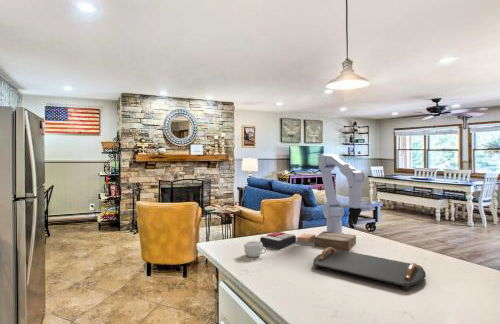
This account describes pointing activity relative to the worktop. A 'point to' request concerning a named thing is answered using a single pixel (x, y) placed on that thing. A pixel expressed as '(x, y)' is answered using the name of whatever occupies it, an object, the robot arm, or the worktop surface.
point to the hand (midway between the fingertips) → (355, 224)
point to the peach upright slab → (306, 238)
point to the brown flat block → (335, 240)
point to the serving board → (371, 267)
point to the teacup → (253, 248)
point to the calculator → (277, 240)
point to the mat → (304, 242)
